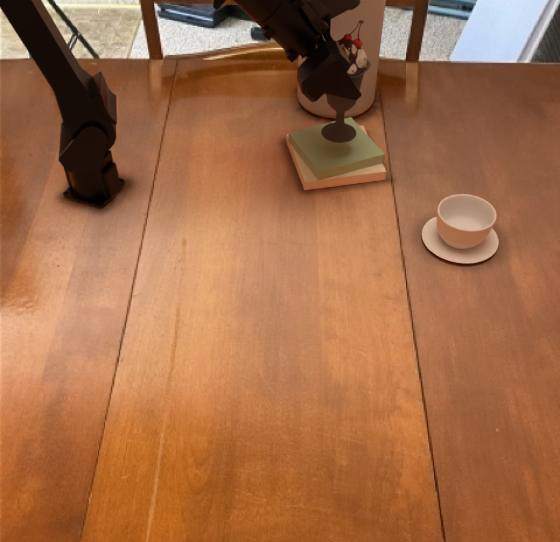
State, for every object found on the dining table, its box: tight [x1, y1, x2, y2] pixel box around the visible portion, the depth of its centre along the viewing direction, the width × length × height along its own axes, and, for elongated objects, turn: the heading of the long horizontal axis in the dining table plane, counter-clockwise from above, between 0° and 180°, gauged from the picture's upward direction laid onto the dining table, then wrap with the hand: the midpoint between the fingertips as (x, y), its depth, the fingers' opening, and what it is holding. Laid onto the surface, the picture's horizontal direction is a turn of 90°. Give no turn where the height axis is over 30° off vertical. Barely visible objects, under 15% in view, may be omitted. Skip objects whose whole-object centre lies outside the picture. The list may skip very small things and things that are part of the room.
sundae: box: [321, 20, 371, 143], centre depth 89 cm, size 7×7×15 cm
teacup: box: [421, 193, 499, 264], centre depth 88 cm, size 10×10×5 cm
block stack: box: [286, 117, 387, 191], centre depth 99 cm, size 12×12×3 cm
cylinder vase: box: [297, 0, 387, 119], centre depth 101 cm, size 12×12×25 cm
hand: (353, 84), depth 90 cm, fingers closed on sundae, 6 cm apart
